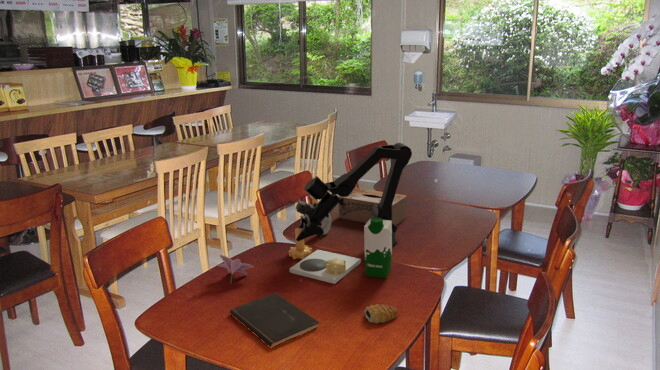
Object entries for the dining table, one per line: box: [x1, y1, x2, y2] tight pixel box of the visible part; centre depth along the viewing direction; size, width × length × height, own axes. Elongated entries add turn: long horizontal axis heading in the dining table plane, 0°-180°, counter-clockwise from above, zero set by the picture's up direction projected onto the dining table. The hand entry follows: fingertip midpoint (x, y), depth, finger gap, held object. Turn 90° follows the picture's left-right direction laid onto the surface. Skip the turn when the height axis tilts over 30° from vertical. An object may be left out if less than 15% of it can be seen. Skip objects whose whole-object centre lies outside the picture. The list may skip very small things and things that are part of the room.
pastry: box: [364, 303, 399, 324], centre depth 155 cm, size 9×7×4 cm
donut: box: [321, 213, 332, 236], centre depth 216 cm, size 10×4×10 cm, turn 141°
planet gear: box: [288, 227, 313, 261], centre depth 198 cm, size 9×9×10 cm
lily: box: [216, 254, 255, 283], centre depth 180 cm, size 12×12×10 cm
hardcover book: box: [229, 292, 320, 347], centre depth 155 cm, size 16×23×2 cm
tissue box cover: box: [338, 187, 408, 226], centre depth 233 cm, size 26×14×10 cm, turn 58°
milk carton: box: [363, 218, 393, 279], centre depth 180 cm, size 9×9×20 cm
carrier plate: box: [289, 249, 362, 285], centre depth 187 cm, size 18×18×4 cm
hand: (296, 238), depth 197 cm, fingers closed on planet gear, 3 cm apart
